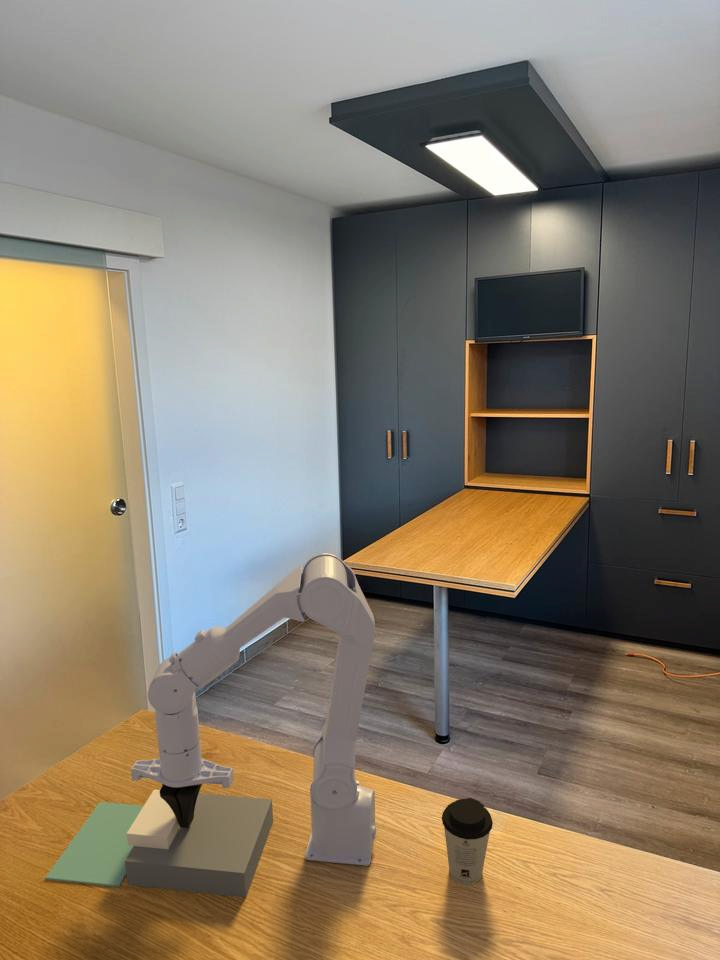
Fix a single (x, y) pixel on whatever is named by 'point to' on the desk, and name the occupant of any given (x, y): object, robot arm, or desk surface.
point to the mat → (98, 847)
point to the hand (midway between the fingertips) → (186, 822)
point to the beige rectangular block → (153, 824)
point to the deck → (208, 849)
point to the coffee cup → (466, 838)
